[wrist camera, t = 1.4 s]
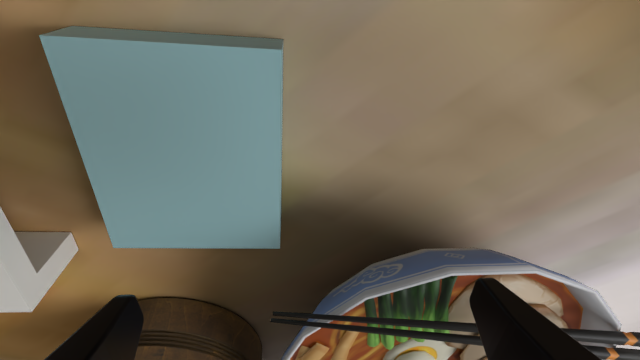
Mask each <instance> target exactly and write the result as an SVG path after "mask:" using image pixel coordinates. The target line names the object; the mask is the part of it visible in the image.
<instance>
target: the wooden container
mask: <svg viewBox="0 0 640 360" xmlns="http://www.w3.org/2000/svg"><path fill="white" fill-rule="evenodd" d="M138 303H139V305H140V308H141V310H142V312H143V316H144V322H143V327H142V331H141V335H140V339H139V343H138V347H137V351H136V355H135V360H262V345H261V342H260V339H259V337H258V336H257V334H256V332H255V331H254V330H253V328H252V327H251V326H250V325H249V324H248V323H247V322H246V321H244V320H243V319H242V318H240V317H239V316H237V315H236V314H234V313H232V312H230V311H228V310H226V309H223V308H221V307H218V306H215V305H212V304H209V303H205V302H201V301H196V300H189V299H180V298H153V299H145V300H140V301H138Z"/></svg>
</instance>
